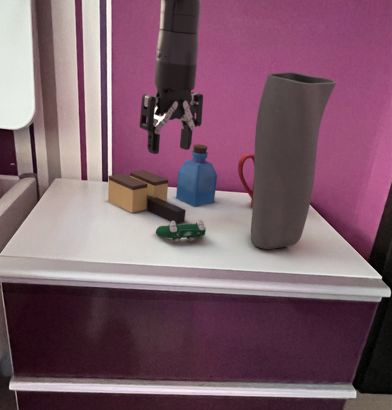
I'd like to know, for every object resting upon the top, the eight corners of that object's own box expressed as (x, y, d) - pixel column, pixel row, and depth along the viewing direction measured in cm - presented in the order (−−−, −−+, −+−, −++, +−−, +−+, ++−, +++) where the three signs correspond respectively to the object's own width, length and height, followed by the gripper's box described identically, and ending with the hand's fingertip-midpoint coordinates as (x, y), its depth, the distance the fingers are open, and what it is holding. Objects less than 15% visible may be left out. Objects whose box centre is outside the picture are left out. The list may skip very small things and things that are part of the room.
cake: (131, 213, 118) (132, 186, 115) (108, 201, 122) (108, 175, 119) (166, 204, 124) (168, 179, 121) (142, 194, 128) (143, 169, 125)
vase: (265, 259, 104) (297, 83, 88) (227, 235, 112) (250, 70, 96) (314, 251, 110) (352, 84, 94) (275, 228, 118) (304, 72, 102)
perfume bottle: (194, 206, 125) (199, 151, 118) (176, 198, 128) (180, 144, 122) (214, 202, 129) (220, 148, 122) (195, 194, 132) (201, 141, 126)
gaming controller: (157, 248, 108) (166, 236, 103) (153, 229, 109) (162, 216, 103) (201, 245, 111) (212, 233, 106) (197, 227, 112) (208, 214, 106)
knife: (184, 221, 116) (185, 207, 115) (176, 224, 115) (177, 209, 113) (128, 196, 126) (129, 183, 125) (120, 198, 125) (120, 184, 123)
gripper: (161, 63, 95) (155, 160, 104) (217, 62, 105) (207, 152, 113) (133, 56, 99) (129, 149, 108) (189, 56, 109) (181, 143, 117)
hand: (169, 150), depth 111 cm, fingers open, 8 cm apart
